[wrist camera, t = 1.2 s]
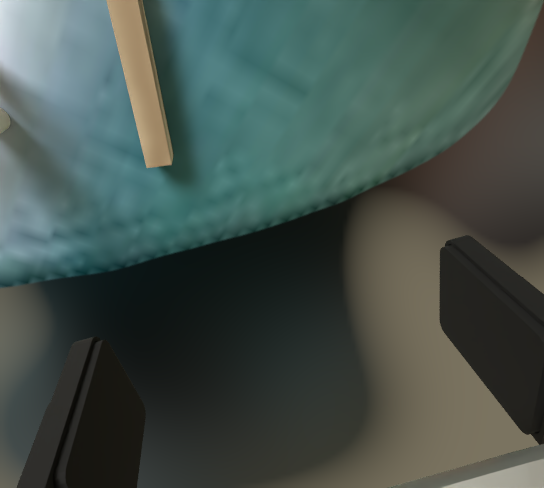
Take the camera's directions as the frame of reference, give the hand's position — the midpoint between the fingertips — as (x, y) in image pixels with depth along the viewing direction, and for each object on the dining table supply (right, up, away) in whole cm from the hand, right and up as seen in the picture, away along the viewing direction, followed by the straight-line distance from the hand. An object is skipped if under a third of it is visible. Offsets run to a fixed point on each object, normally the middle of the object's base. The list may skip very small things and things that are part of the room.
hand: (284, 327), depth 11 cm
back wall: (-11, +16, +21) cm, 28 cm away
